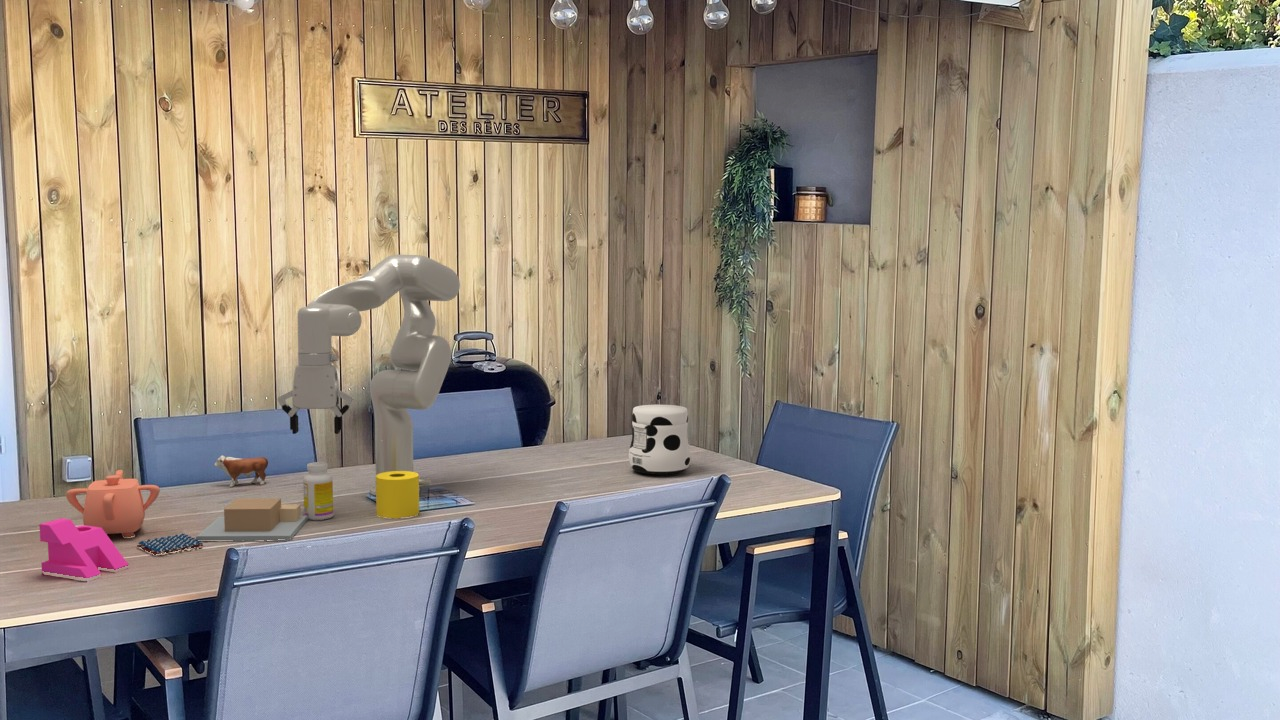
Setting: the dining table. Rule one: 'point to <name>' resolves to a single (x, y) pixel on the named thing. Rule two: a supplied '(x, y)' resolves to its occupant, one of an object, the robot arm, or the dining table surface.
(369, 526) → the dining table surface
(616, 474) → the dining table surface
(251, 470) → the bull figurine
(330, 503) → the supplement bottle
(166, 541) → the woven mat
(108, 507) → the teapot
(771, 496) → the dining table surface
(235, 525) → the board
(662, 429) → the milk container
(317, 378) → the robot arm
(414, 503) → the yellow toilet paper roll
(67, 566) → the bracket
